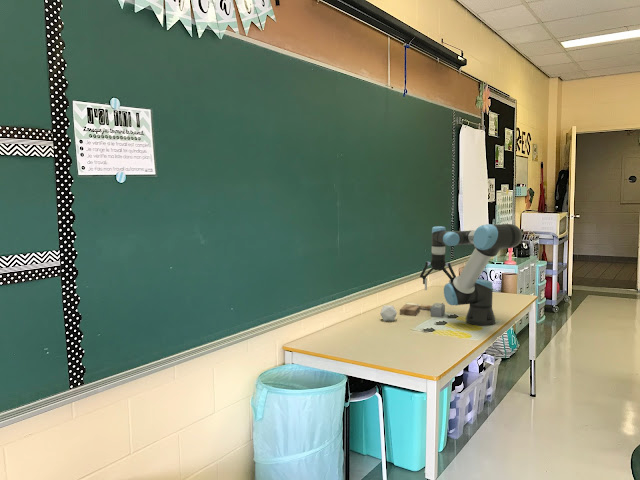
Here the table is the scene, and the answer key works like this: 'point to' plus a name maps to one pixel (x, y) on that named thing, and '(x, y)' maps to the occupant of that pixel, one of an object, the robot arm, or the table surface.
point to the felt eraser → (425, 307)
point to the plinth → (410, 310)
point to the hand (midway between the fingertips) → (437, 290)
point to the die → (388, 313)
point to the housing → (437, 310)
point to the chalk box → (411, 304)
